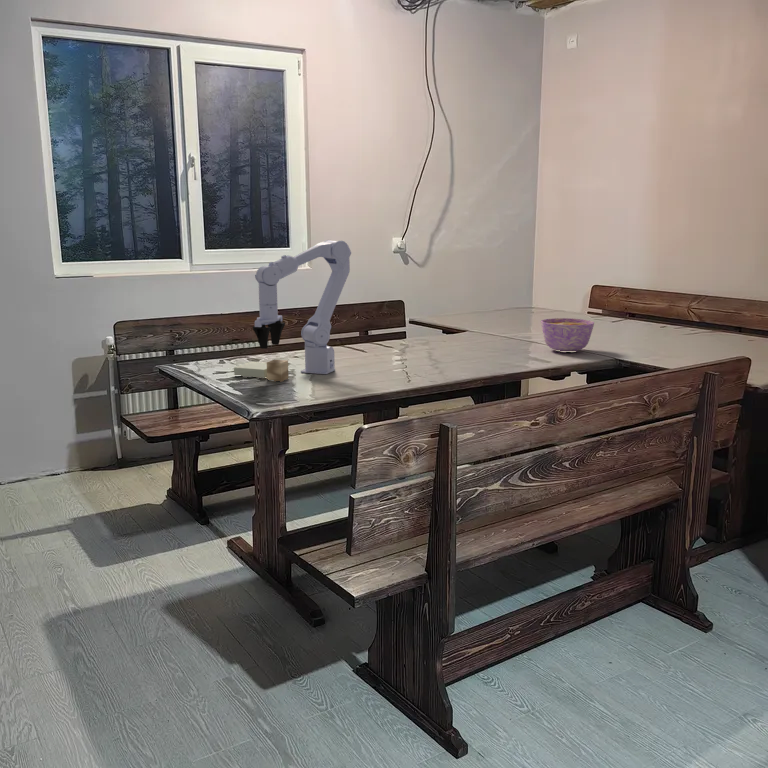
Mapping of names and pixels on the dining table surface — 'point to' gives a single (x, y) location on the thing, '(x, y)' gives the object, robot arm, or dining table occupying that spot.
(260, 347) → the robot arm
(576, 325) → the bowl of food
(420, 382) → the dining table surface
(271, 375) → the maple block
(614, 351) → the dining table surface
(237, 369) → the sage slab
